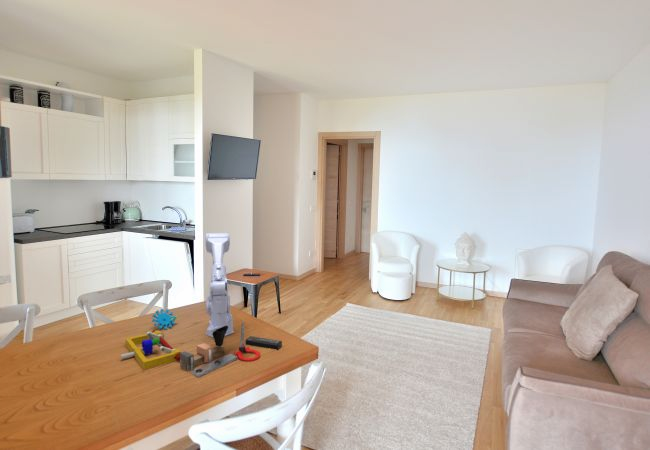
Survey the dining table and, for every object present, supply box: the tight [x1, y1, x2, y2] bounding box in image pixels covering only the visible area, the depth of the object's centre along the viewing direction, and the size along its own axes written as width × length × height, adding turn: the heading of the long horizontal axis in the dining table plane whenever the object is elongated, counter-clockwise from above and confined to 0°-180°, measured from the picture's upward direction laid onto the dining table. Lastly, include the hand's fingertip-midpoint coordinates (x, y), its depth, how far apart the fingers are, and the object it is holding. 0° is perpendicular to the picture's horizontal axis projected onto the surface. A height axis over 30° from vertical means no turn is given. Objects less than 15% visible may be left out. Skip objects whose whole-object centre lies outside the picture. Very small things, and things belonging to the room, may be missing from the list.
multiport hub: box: [245, 335, 283, 351], centre depth 162 cm, size 4×14×2 cm, turn 73°
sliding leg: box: [196, 342, 213, 364], centre depth 147 cm, size 3×6×5 cm, turn 54°
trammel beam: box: [179, 345, 225, 372], centre depth 146 cm, size 17×6×5 cm, turn 144°
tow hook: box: [233, 321, 261, 363], centre depth 150 cm, size 8×13×9 cm
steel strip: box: [191, 353, 238, 378], centre depth 143 cm, size 17×4×1 cm, turn 144°
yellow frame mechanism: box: [120, 329, 182, 371], centre depth 152 cm, size 18×6×30 cm
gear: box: [151, 308, 178, 331], centre depth 178 cm, size 11×6×10 cm
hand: (219, 345), depth 152 cm, fingers closed
